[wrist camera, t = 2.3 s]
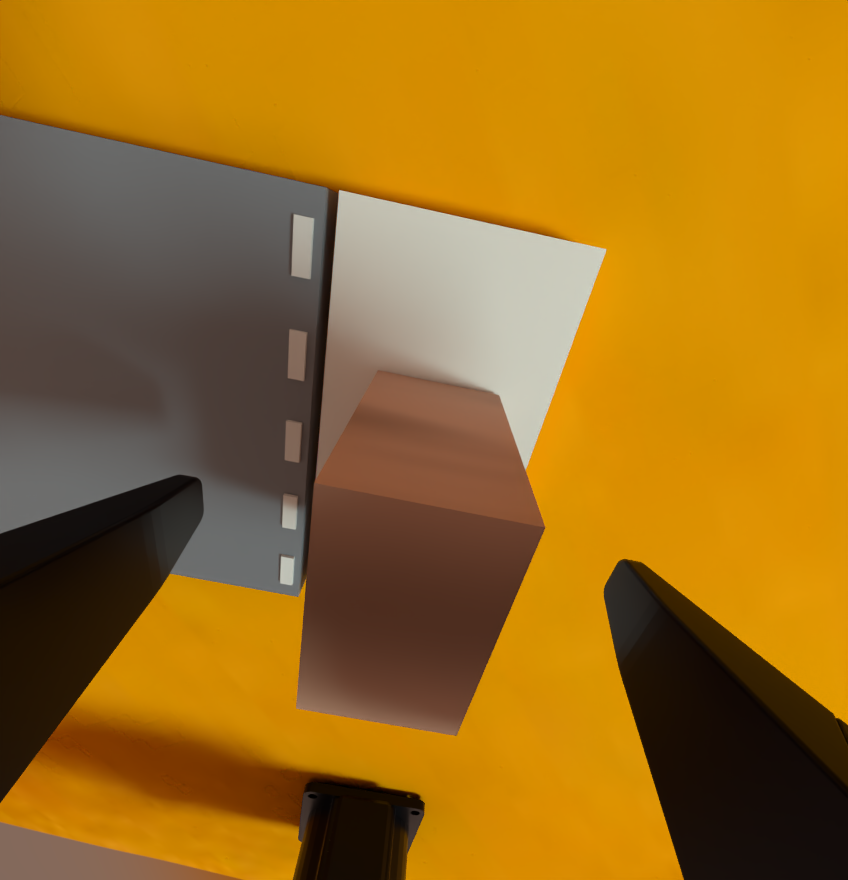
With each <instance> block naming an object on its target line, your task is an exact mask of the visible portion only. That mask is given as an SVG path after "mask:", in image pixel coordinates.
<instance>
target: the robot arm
mask: <svg viewBox="0 0 848 880" xmlns="http://www.w3.org/2000/svg"><path fill="white" fill-rule="evenodd" d="M203 514H204V502H203V490H202V482H201V480H200V479H199V478H197V477H192V476H187V475H181V474H179V475H175V476H172V477H169V478H166V479H163V480H160V481H157V482H154V483H151V484H148V485H145V486H142V487H138V488H135V489H132V490H129V491H126V492H123V493H120V494H117V495H114V496H111V497H108V498H105V499H102V500H99V501H96V502H93V503H90V504H87V505H84V506H81V507H78V508H75V509H72V510H69V511H66V512H63V513H60V514H57V515H54V516H51V517H48V518H45V519H42V520H39V521H36V522H33V523H30V524H27V525H24V526H21V527H18V528H15V529H12V530H9V531H6V532H3V533H0V803H1V801H2V800H3V799H4V797H5V796H6V795H7V793H8V792H9V791H10V789H11V788H12V787H13V785H14V784H15V783H16V781H17V780H18V779H19V777H20V776H21V775H22V773H23V772H24V771H25V769H26V768H27V767H28V765H29V764H30V763H31V761H32V760H33V758H34V757H35V756H36V754H37V753H38V752H39V750H40V749H41V748H42V746H43V745H44V744H45V742H46V741H47V740H48V738H49V737H50V736H51V734H52V733H53V732H54V730H55V729H56V728H57V726H58V725H59V724H60V722H61V721H62V720H63V718H64V717H65V716H66V714H67V713H68V712H69V710H70V709H71V708H72V706H73V705H74V704H75V702H76V701H77V700H78V698H79V697H80V695H81V694H82V693H83V691H84V690H85V689H86V687H87V686H88V685H89V683H90V682H91V681H92V679H93V678H94V677H95V675H96V674H97V673H98V671H99V670H100V669H101V667H102V666H103V665H104V663H105V662H106V661H107V659H108V658H109V657H110V655H111V654H112V653H113V651H114V650H115V649H116V647H117V646H118V645H119V643H120V642H121V641H122V639H123V638H124V637H125V635H126V634H127V632H128V631H129V630H130V628H131V627H132V626H133V624H134V623H135V622H136V620H137V619H138V618H139V616H140V615H141V614H142V612H143V611H144V610H145V608H146V607H147V606H148V604H149V603H150V602H151V600H152V599H153V598H154V596H155V595H156V593H157V592H158V591H159V589H160V588H161V586H162V585H163V583H164V582H165V580H166V579H167V577H168V576H169V574H170V572H171V571H172V569H173V567H174V566H175V564H176V562H177V561H178V559H179V557H180V556H181V554H182V552H183V550H184V549H185V547H186V545H187V544H188V542H189V540H190V539H191V537H192V535H193V534H194V532H195V530H196V529H197V527H198V525H199V524H200V522H201V520H202V517H203ZM604 600H605V605H606V609H607V614H608V619H609V624H610V629H611V634H612V639H613V644H614V649H615V653H616V658H617V662H618V666H619V670H620V674H621V677H622V681H623V684H624V687H625V690H626V694H627V697H628V700H629V703H630V707H631V710H632V713H633V716H634V719H635V723H636V726H637V729H638V732H639V736H640V739H641V742H642V745H643V749H644V752H645V755H646V758H647V762H648V765H649V768H650V771H651V774H652V778H653V781H654V784H655V787H656V791H657V794H658V797H659V800H660V804H661V807H662V810H663V813H664V817H665V820H666V823H667V826H668V830H669V833H670V836H671V839H672V842H673V846H674V849H675V852H676V855H677V859H678V862H679V865H680V868H681V872H682V875H683V878H684V880H848V725H847V724H846V723H845V722H843V721H842V720H841V719H839V718H835V716H834V714H833V713H832V712H830V711H829V710H828V709H827V708H825V707H824V706H823V705H822V704H820V703H819V702H818V701H817V700H815V699H814V698H813V697H811V696H810V695H809V694H808V693H806V692H805V691H804V690H803V689H801V688H800V687H799V686H798V685H796V684H795V683H794V682H792V681H791V680H790V679H789V678H787V677H786V676H785V675H784V674H782V673H781V672H780V671H779V670H777V669H776V668H775V667H774V666H772V665H771V664H770V663H768V662H767V661H766V660H765V659H763V658H762V657H761V656H760V655H758V654H757V653H756V652H755V651H753V650H752V649H751V648H749V647H748V646H747V645H746V644H744V643H743V642H742V641H741V640H739V639H738V638H737V637H736V636H734V635H733V634H732V633H731V632H729V631H728V630H727V629H725V628H724V627H723V626H722V625H720V624H719V623H718V622H717V621H715V620H714V619H713V618H712V617H710V616H709V615H708V614H707V613H705V612H704V611H703V610H701V609H700V608H699V607H698V606H696V605H695V604H694V603H693V602H691V601H690V600H689V599H688V598H686V597H685V596H684V595H682V594H681V593H680V592H679V591H677V590H676V589H675V588H674V587H672V586H671V585H670V584H669V583H667V582H666V581H665V580H664V579H662V578H661V577H660V576H658V575H657V574H656V573H655V572H653V571H652V570H651V569H650V568H648V567H647V566H646V565H645V564H643V563H641V562H638V561H633V560H627V559H622V560H620V561H619V562H618V563H617V565H616V567H615V568H614V570H613V572H612V574H611V576H610V577H609V579H608V581H607V583H606V585H605V588H604ZM424 807H425V803H424V802H423V801H421V800H419V799H414V798H407V797H401V796H395V795H389V794H383V793H377V792H371V791H365V790H359V789H352V788H346V787H340V786H334V785H328V784H322V783H316V782H310V783H307V784H306V786H305V790H304V794H303V801H302V810H301V818H300V827H299V836H298V839H299V841H301V842H302V844H301V848H300V852H299V856H298V861H297V865H296V869H295V873H294V877H293V880H405V879H406V864H407V853H408V851H409V849H410V846H411V844H412V842H413V839H414V837H415V835H416V832H417V830H418V828H419V825H420V823H421V821H422V818H423V816H424Z"/></svg>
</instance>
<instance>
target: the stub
mask: <svg viewBox="0 0 848 880" xmlns="http://www.w3.org/2000/svg"><path fill="white" fill-rule="evenodd" d="M606 250H607V249H603V248H598V247H594V246H589V245H584V244H580V243H575V242H571V241H566V240H562V239H557V238H553V237H548V236H544V235H539V234H535V233H530V232H526V231H521V230H517V229H512V228H508V227H503V226H499V225H494V224H490V223H485V222H481V221H476V220H472V219H467V218H463V217H458V216H454V215H449V214H445V213H440V212H436V211H431V210H427V209H422V208H418V207H413V206H409V205H404V204H400V203H395V202H391V201H386V200H382V199H377V198H373V197H368V196H364V195H359V194H355V193H350V192H346V191H341V190H339V199H338V212H337V224H336V236H335V248H334V261H333V273H332V285H331V298H330V310H329V322H328V335H327V347H326V359H325V372H324V384H323V396H322V409H321V421H320V433H319V446H318V458H317V470H316V480H315V482H314V490H313V503H312V515H311V528H310V540H309V553H308V566H307V578H306V591H305V604H304V616H303V629H302V642H301V654H300V667H299V679H298V692H297V705H296V708H297V709H303V710H309V711H315V712H320V713H326V714H332V715H338V716H344V717H350V718H356V719H361V720H367V721H373V722H379V723H385V724H391V725H397V726H402V727H408V728H414V729H420V730H426V731H432V732H438V733H443V734H449V735H455V736H456V735H457V733H458V731H459V728H460V726H461V724H462V721H463V719H464V717H465V714H466V712H467V710H468V707H469V705H470V703H471V700H472V698H473V696H474V693H475V691H476V688H477V686H478V684H479V681H480V679H481V677H482V674H483V672H484V670H485V667H486V665H487V663H488V660H489V658H490V656H491V653H492V651H493V649H494V646H495V644H496V642H497V639H498V637H499V635H500V632H501V630H502V628H503V625H504V623H505V621H506V618H507V616H508V614H509V611H510V609H511V607H512V604H513V602H514V599H515V597H516V595H517V592H518V590H519V588H520V585H521V583H522V581H523V578H524V576H525V574H526V571H527V569H528V567H529V564H530V562H531V560H532V557H533V555H534V553H535V550H536V548H537V546H538V543H539V541H540V539H541V536H542V534H543V532H544V529H545V525H544V523H543V520H542V517H541V514H540V511H539V508H538V505H537V502H536V500H535V497H534V494H533V491H532V488H531V485H530V482H529V480H528V477H527V474H526V471H525V470H526V468H527V465H528V462H529V460H530V457H531V454H532V451H533V449H534V446H535V443H536V440H537V438H538V435H539V432H540V430H541V427H542V424H543V421H544V419H545V416H546V413H547V410H548V408H549V405H550V402H551V400H552V397H553V394H554V391H555V389H556V386H557V383H558V380H559V378H560V375H561V372H562V370H563V367H564V364H565V361H566V359H567V356H568V353H569V350H570V348H571V345H572V342H573V340H574V337H575V334H576V331H577V329H578V326H579V323H580V320H581V318H582V315H583V312H584V310H585V307H586V304H587V301H588V299H589V296H590V293H591V290H592V288H593V285H594V282H595V280H596V277H597V274H598V271H599V269H600V266H601V263H602V260H603V258H604V255H605V252H606Z"/></svg>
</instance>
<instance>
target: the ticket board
mask: <svg viewBox="0 0 848 880" xmlns="http://www.w3.org/2000/svg"><path fill="white" fill-rule="evenodd" d="M337 203H338V193H336V192H334V191H332V190H330V189H328V188H326V187H322V186H317V185H313V184H308V183H304V182H299V181H295V180H290V179H286V178H281V177H277V176H272V175H268V174H263V173H259V172H254V171H250V170H245V169H241V168H236V167H232V166H227V165H223V164H218V163H214V162H209V161H205V160H200V159H196V158H191V157H187V156H182V155H178V154H173V153H169V152H164V151H160V150H155V149H151V148H146V147H142V146H137V145H133V144H128V143H124V142H119V141H115V140H110V139H106V138H101V137H97V136H92V135H88V134H83V133H79V132H74V131H70V130H65V129H61V128H56V127H52V126H47V125H43V124H38V123H34V122H29V121H25V120H20V119H16V118H11V117H7V116H2V115H0V533H3V532H6V531H9V530H12V529H15V528H18V527H21V526H24V525H27V524H30V523H33V522H36V521H39V520H42V519H45V518H48V517H51V516H54V515H57V514H60V513H63V512H66V511H69V510H72V509H75V508H78V507H81V506H84V505H87V504H90V503H93V502H96V501H99V500H102V499H105V498H108V497H111V496H114V495H117V494H120V493H123V492H126V491H129V490H132V489H135V488H138V487H142V486H145V485H148V484H151V483H154V482H157V481H160V480H163V479H166V478H169V477H172V476H175V475H179V474H181V475H187V476H192V477H197V478H199V479H200V480H201V482H202V490H203V502H204V514H203V517H202V520H201V522H200V524H199V525H198V527H197V529H196V530H195V532H194V534H193V535H192V537H191V539H190V540H189V542H188V544H187V545H186V547H185V549H184V550H183V552H182V554H181V556H180V557H179V559H178V561H177V562H176V564H175V566H174V567H173V569H172V571H171V572H170V574H176V575H181V576H187V577H192V578H198V579H203V580H209V581H214V582H220V583H225V584H231V585H236V586H242V587H247V588H253V589H258V590H264V591H269V592H275V593H280V594H286V595H291V596H297V597H298V596H299V594H300V591H301V589H302V587H303V584H304V582H305V580H306V577H307V566H308V553H309V540H310V528H311V515H312V503H313V490H314V482H315V476H316V464H317V452H318V439H319V427H320V414H321V402H322V389H323V377H324V365H325V352H326V340H327V327H328V315H329V302H330V290H331V278H332V265H333V253H334V240H335V228H336V215H337Z"/></svg>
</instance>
